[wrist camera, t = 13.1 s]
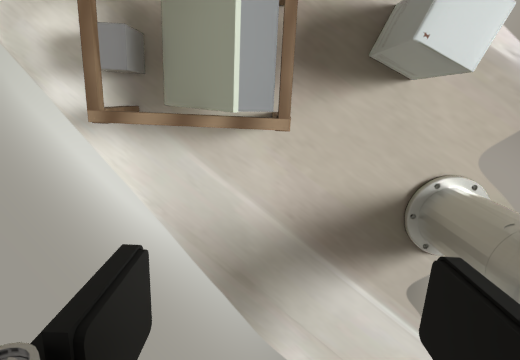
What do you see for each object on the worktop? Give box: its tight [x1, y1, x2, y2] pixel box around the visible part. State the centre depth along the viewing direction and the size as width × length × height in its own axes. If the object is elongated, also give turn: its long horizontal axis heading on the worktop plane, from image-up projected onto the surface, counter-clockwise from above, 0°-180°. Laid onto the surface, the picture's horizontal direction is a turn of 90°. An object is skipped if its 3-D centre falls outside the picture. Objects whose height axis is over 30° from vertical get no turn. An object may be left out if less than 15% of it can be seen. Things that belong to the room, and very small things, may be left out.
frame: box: [77, 0, 298, 131], centre depth 37 cm, size 22×17×11 cm
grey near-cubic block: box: [97, 22, 145, 74], centre depth 39 cm, size 5×5×6 cm
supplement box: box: [369, 0, 516, 80], centre depth 36 cm, size 7×7×13 cm
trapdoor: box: [161, 0, 279, 113], centre depth 36 cm, size 15×13×5 cm
